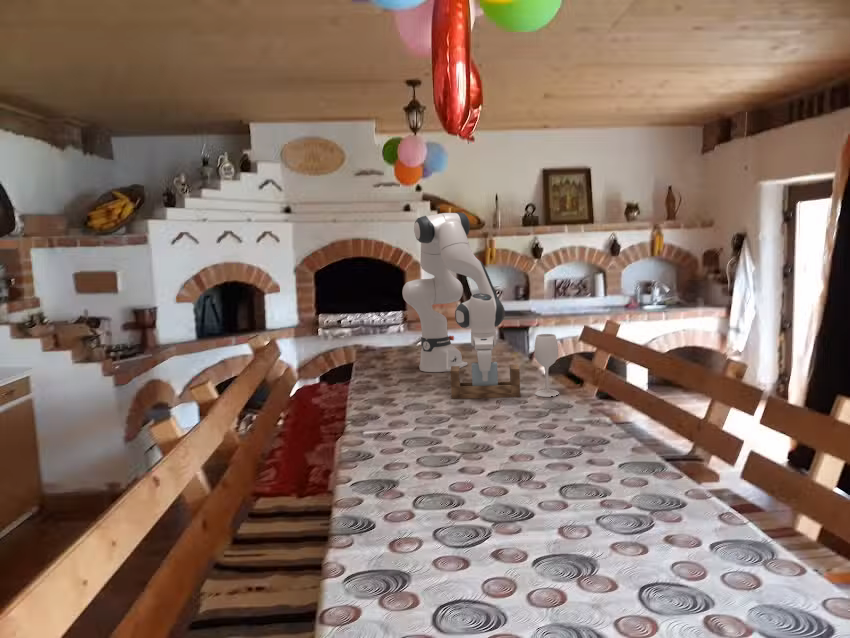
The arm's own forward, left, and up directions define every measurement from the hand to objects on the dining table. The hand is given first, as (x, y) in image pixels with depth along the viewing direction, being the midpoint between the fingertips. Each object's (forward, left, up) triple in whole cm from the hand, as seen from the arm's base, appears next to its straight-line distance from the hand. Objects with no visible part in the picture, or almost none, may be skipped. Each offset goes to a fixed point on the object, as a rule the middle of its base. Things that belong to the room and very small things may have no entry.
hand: (485, 378), depth 232 cm
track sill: (0, 0, -6) cm, 6 cm away
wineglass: (-12, +18, -6) cm, 23 cm away
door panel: (0, 0, -5) cm, 5 cm away
